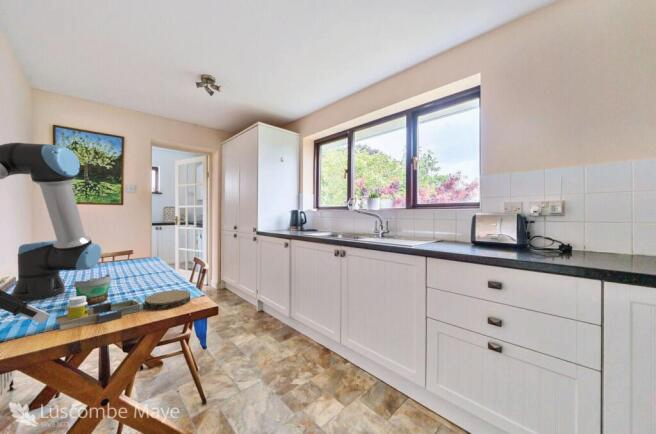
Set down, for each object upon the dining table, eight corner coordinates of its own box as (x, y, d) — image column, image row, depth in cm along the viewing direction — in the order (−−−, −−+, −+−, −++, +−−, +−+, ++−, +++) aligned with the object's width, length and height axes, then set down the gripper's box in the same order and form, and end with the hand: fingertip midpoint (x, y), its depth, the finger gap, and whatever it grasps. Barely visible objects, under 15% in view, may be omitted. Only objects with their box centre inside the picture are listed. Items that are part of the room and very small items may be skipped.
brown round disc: (146, 314, 92) (146, 306, 92) (143, 301, 104) (143, 294, 104) (194, 304, 102) (194, 297, 102) (186, 294, 114) (186, 287, 114)
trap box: (54, 321, 83) (54, 314, 83) (133, 303, 101) (133, 297, 101) (61, 333, 76) (61, 325, 76) (145, 311, 93) (145, 305, 93)
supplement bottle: (88, 322, 83) (88, 297, 83) (67, 327, 80) (67, 301, 80) (87, 318, 87) (87, 294, 86) (67, 322, 83) (67, 297, 83)
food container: (85, 309, 94) (85, 282, 94) (73, 307, 96) (73, 281, 95) (119, 298, 106) (119, 275, 106) (107, 297, 108) (107, 274, 108)
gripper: (-68, 283, 66) (30, 324, 79) (-75, 294, 58) (35, 337, 72) (-33, 260, 70) (55, 303, 83) (-35, 267, 62) (62, 313, 76)
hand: (46, 319), depth 78 cm, fingers closed
